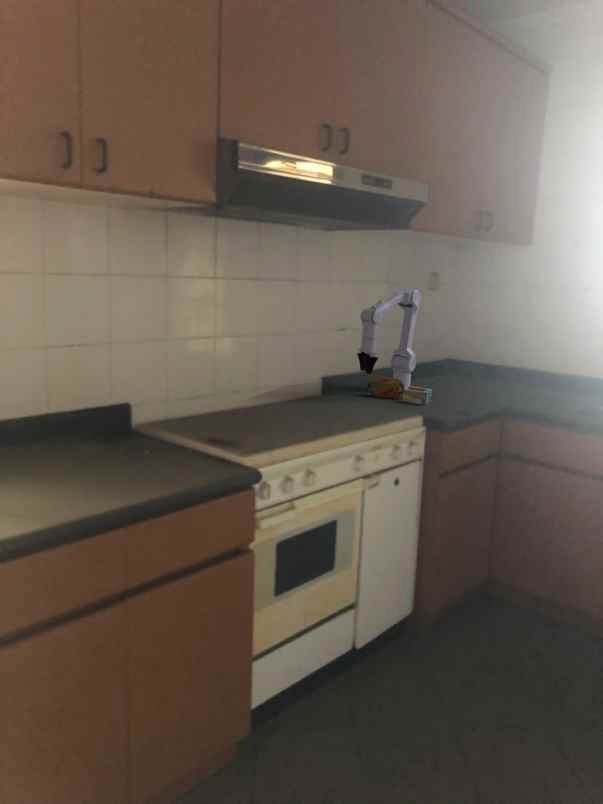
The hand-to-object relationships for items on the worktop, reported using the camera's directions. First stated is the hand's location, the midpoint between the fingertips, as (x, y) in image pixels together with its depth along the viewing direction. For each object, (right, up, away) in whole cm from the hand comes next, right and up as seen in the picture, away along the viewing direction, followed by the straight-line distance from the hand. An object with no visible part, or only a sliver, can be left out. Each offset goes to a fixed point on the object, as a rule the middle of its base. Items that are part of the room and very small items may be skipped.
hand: (365, 372), depth 269 cm
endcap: (+21, -12, +1) cm, 24 cm away
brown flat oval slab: (+9, -10, +5) cm, 14 cm away
